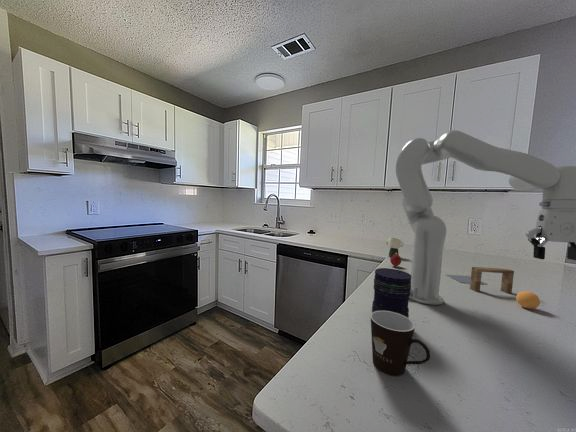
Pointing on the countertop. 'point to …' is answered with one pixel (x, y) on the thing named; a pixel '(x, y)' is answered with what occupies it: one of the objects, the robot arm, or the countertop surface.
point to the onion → (395, 260)
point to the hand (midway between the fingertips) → (555, 259)
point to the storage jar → (391, 291)
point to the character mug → (394, 245)
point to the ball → (528, 299)
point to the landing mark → (462, 278)
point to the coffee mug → (393, 342)
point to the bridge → (506, 273)
